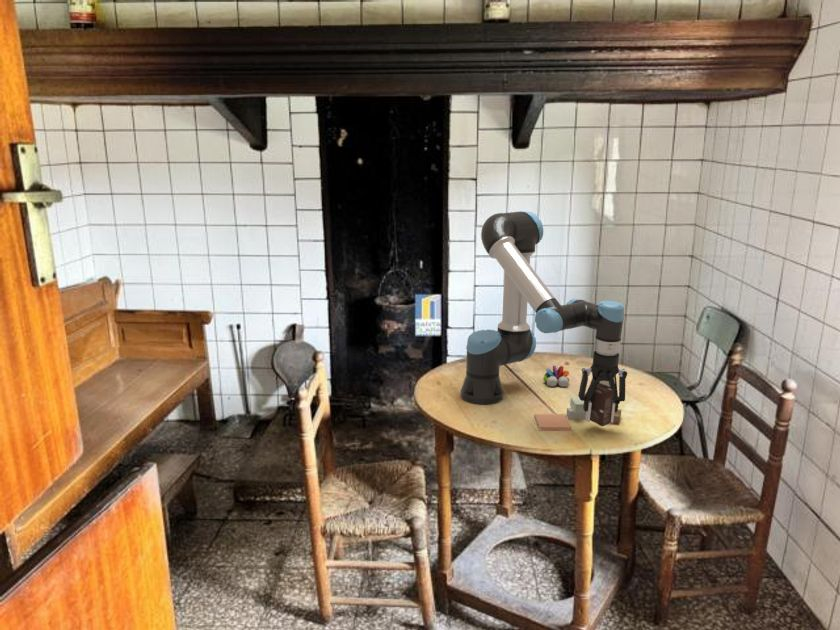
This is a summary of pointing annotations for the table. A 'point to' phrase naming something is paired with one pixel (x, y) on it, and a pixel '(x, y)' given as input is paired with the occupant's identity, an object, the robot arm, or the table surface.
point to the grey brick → (575, 414)
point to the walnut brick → (617, 417)
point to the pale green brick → (577, 405)
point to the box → (601, 405)
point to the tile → (552, 422)
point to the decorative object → (607, 382)
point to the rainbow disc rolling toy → (556, 377)
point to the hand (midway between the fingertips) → (599, 420)
